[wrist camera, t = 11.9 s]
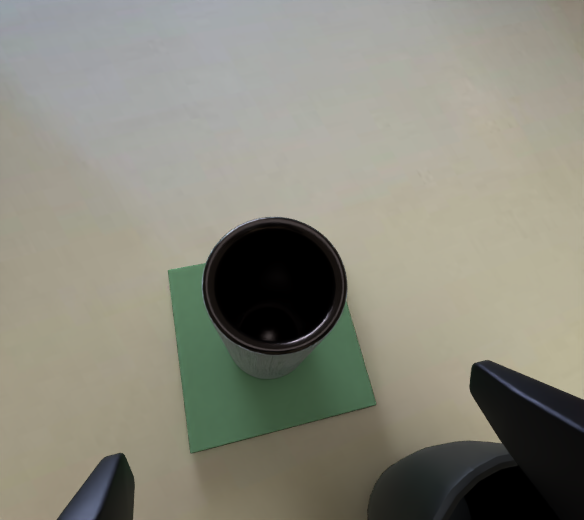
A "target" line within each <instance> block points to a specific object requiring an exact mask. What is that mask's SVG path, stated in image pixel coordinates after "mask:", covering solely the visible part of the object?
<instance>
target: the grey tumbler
mask: <svg viewBox="0 0 584 520" xmlns="http://www.w3.org/2000/svg"><path fill="white" fill-rule="evenodd" d="M202 295H203V301H204V305H205V308H206V310H207V313H208V315H209V317H210V319H211V321H212V323H213V325H214V327H215V328H216V330H217V332H218V334H219V336H220V337H221V339H222V341H223V343H224V345H225V346H226V348H227V350H228V352H229V354H230V355H231V357H232V359H233V360H234V362H235V363H236V365H237V366H238V367H239V368H240V369H241V370H243V371H244V372H246V373H247V374H249V375H251V376H253V377H256V378H260V379H275V378H279V377H282V376H285V375H287V374H289V373H290V372H292V371H293V370H294V369H296V368H297V367H298V366H299V365H300V364H301V362H302V361H303V360H304V359H305V358H306V357H307V356H308V355H309V354H310V353H311V352H312V351H313V350H314V349H315V348H316V347H317V346H318V345H319V344H320V342H321V341H322V340H323V339H324V338H325V337H326V336H327V335H328V334H329V333H330V332H331V330H332V329H333V328H334V327H335V325H336V324H337V322H338V320H339V319H340V317H341V314H342V312H343V310H344V307H345V303H346V298H347V276H346V271H345V268H344V265H343V262H342V260H341V258H340V256H339V254H338V252H337V250H336V249H335V248H334V246H333V245H332V244H331V242H330V241H329V240H328V239H327V238H326V237H325V236H324V235H322V234H321V233H320V232H319V231H317V230H316V229H314V228H313V227H311V226H309V225H307V224H305V223H302V222H300V221H297V220H293V219H289V218H283V217H265V218H259V219H255V220H251V221H248V222H246V223H243V224H241V225H239V226H237V227H236V228H234V229H232V230H231V231H230V232H228V233H227V234H226V235H225V236H224V237H223V238H222V239H221V240H220V241H219V242H218V243H217V244H216V245H215V247H214V248H213V250H212V251H211V253H210V255H209V257H208V259H207V261H206V264H205V267H204V271H203V276H202Z"/></svg>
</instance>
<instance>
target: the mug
mask: <svg viewBox="0 0 584 520" xmlns="http://www.w3.org/2000/svg"><path fill="white" fill-rule="evenodd" d="M367 515H368V520H560V519H559V518H558V516H557V515H556V514H555V512H554V511H553V510H552V508H551V507H550V506H549V505H548V503H547V502H546V501H545V499H544V498H543V497H542V495H541V494H540V493H539V492H538V490H537V489H536V488H535V486H534V485H533V484H532V482H531V481H530V480H529V478H528V477H527V476H526V475H525V473H524V472H523V471H522V469H521V468H520V467H519V465H518V464H517V463H516V462H515V460H514V459H513V458H512V456H511V455H510V454H509V452H508V451H507V449H506V448H505V447H504V445H503V444H502V443H494V442H481V441H458V442H451V443H446V444H441V445H436V446H431V447H427V448H424V449H421V450H419V451H417V452H415V453H413V454H411V455H409V456H407V457H405V458H403V459H401V460H400V461H398V462H397V463H395V464H393V465H391V466H390V467H389V468H388V469H387V470H386V471H385V472H383V473H382V475H381V476H380V478H379V479H378V480H377V482H376V483H375V485H374V488H373V490H372V493H371V495H370V499H369V505H368V510H367Z"/></svg>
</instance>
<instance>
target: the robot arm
mask: <svg viewBox="0 0 584 520" xmlns="http://www.w3.org/2000/svg"><path fill="white" fill-rule="evenodd" d="M469 387H470V392H471V394H472V396H473V398H474V400H475V401H476V403H477V404H478V406H479V407H480V409H481V411H482V412H483V414H484V415H485V417H486V419H487V420H488V422H489V423H490V425H491V426H492V428H493V430H494V431H495V433H496V434H497V436H498V438H499V439H500V441H501V442H502V444H503V445H504V447H505V448H506V449H507V451H508V452H509V454H510V455H511V456H512V458H513V459H514V460H515V462H516V463H517V464H518V465H519V467H520V468H521V469H522V471H523V472H524V473H525V475H526V476H527V477H528V478H529V480H530V481H531V482H532V484H533V485H534V486H535V488H536V489H537V490H538V492H539V493H540V494H541V495H542V497H543V498H544V499H545V501H546V502H547V503H548V505H549V506H550V507H551V508H552V510H553V511H554V512H555V514H556V515H557V516H558V518H559V519H560V520H584V400H583V399H581V398H578V397H576V396H573V395H571V394H569V393H566V392H564V391H561V390H559V389H557V388H554V387H552V386H549V385H547V384H545V383H542V382H540V381H537V380H535V379H533V378H530V377H528V376H525V375H523V374H521V373H518V372H516V371H514V370H511V369H509V368H506V367H504V366H502V365H499V364H497V363H494V362H492V361H489V360H485V361H481V362H477V363H474V364H473V365H472V368H471V377H470V385H469ZM134 489H135V482H134V476H133V474H132V471H131V469H130V466H129V464H128V462H127V459H126V457H125V455H124V454H123V453H118V454H114V455H110V456H106V457H104V458H103V459H102V460H101V461H100V463H99V464H98V465H97V467H96V468H95V469H94V471H93V472H92V473H91V475H90V476H89V477H88V479H87V480H86V481H85V483H84V484H83V485H82V487H81V488H80V489H79V491H78V492H77V493H76V495H75V496H74V497H73V498H72V500H71V501H70V502H69V504H68V505H67V506H66V508H65V509H64V510H63V512H62V513H61V514H60V516H59V517H58V518H57V520H133V507H134Z"/></svg>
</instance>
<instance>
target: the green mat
mask: <svg viewBox="0 0 584 520" xmlns="http://www.w3.org/2000/svg"><path fill="white" fill-rule="evenodd" d="M205 264H206V263H204V264H198V265H193V266H188V267H182V268H177V269H171V270H168V275H169V283H170V291H171V299H172V307H173V316H174V324H175V332H176V340H177V348H178V356H179V364H180V372H181V380H182V389H183V397H184V405H185V413H186V421H187V429H188V437H189V445H190V453H195V452H199V451H203V450H206V449H210V448H214V447H218V446H222V445H225V444H229V443H233V442H237V441H241V440H244V439H248V438H252V437H256V436H260V435H264V434H267V433H271V432H275V431H279V430H283V429H286V428H290V427H294V426H298V425H302V424H305V423H309V422H313V421H317V420H321V419H324V418H328V417H332V416H336V415H340V414H343V413H347V412H351V411H355V410H359V409H362V408H366V407H370V406H374V405H376V401H375V398H374V394H373V391H372V387H371V384H370V381H369V377H368V374H367V370H366V367H365V363H364V360H363V357H362V353H361V350H360V346H359V343H358V340H357V336H356V333H355V329H354V326H353V322H352V319H351V316H350V312H349V309H348V305H347V302H346V303H345V307H344V310H343V312H342V314H341V317H340V319H339V320H338V322H337V324H336V325H335V327H334V328H333V329H332V330H331V332H330V333H329V334H328V335H327V336H326V337H325V338H324V339H323V340H322V341H321V342H320V344H319V345H318V346H317V347H316V348H315V349H314V350H313V351H312V352H311V353H310V354H309V355H308V356H307V357H306V358H305V359H304V360H303V361H302V362H301V364H300V365H299V366H298V367H297V368H296V369H294V370H293V371H292V372H290V373H289V374H287V375H285V376H282V377H279V378H275V379H260V378H256V377H253V376H251V375H249V374H247V373H246V372H244V371H243V370H241V369H240V368H239V367H238V366H237V365H236V363H235V362H234V360H233V359H232V357H231V355H230V354H229V352H228V350H227V348H226V346H225V345H224V343H223V341H222V339H221V337H220V336H219V334H218V332H217V330H216V328H215V327H214V325H213V323H212V321H211V319H210V317H209V315H208V313H207V310H206V308H205V305H204V301H203V295H202V276H203V271H204V267H205Z"/></svg>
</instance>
